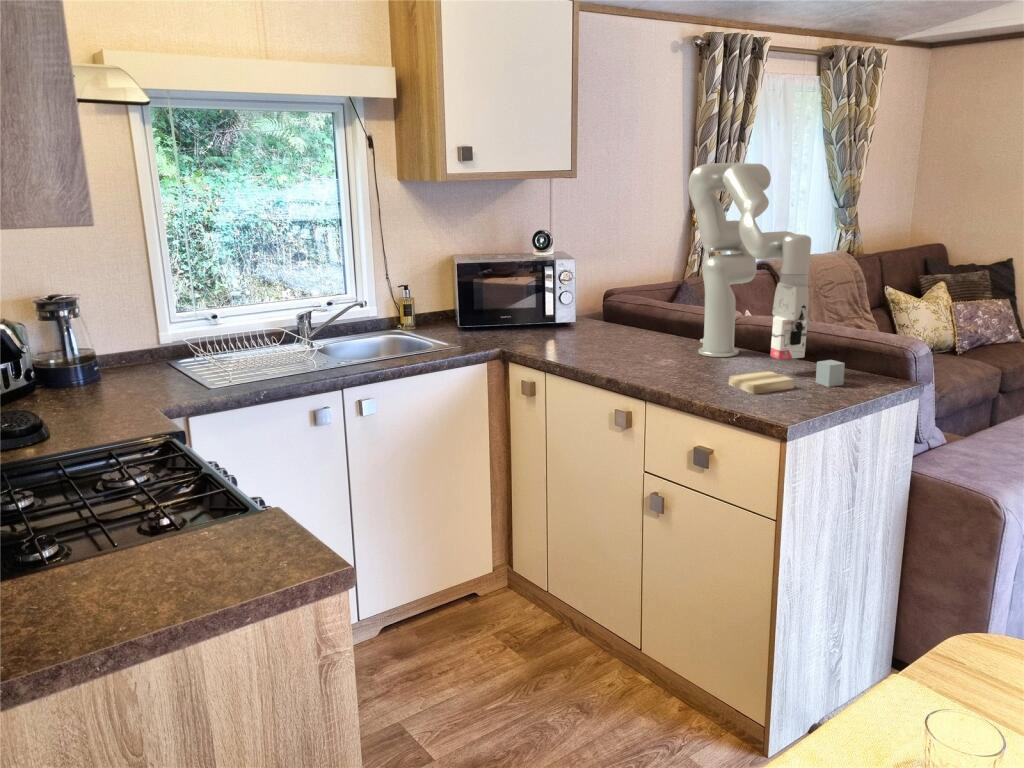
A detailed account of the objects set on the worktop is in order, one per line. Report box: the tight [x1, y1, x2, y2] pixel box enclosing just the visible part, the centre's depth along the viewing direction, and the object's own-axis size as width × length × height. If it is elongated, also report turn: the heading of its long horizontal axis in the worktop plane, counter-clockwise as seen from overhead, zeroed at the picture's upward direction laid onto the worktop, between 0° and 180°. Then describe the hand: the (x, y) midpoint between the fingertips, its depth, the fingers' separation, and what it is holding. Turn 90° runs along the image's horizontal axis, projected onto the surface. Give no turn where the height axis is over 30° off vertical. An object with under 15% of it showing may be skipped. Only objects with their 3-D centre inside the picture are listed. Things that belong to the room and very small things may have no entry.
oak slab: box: [728, 370, 795, 395], centre depth 218 cm, size 11×13×3 cm
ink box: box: [770, 316, 808, 361], centre depth 229 cm, size 9×5×12 cm, turn 105°
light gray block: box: [815, 359, 845, 388], centre depth 218 cm, size 5×5×6 cm
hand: (788, 341), depth 229 cm, fingers closed on ink box, 5 cm apart
